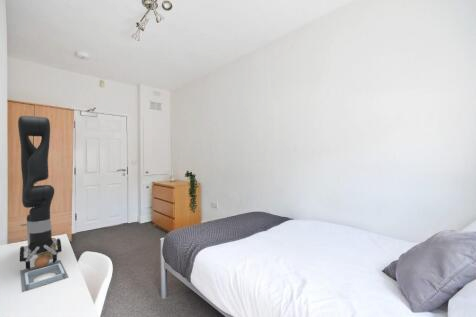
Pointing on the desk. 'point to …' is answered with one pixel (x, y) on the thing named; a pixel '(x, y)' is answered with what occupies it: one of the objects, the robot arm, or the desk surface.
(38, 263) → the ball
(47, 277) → the square tray
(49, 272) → the mat
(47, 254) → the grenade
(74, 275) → the desk surface
